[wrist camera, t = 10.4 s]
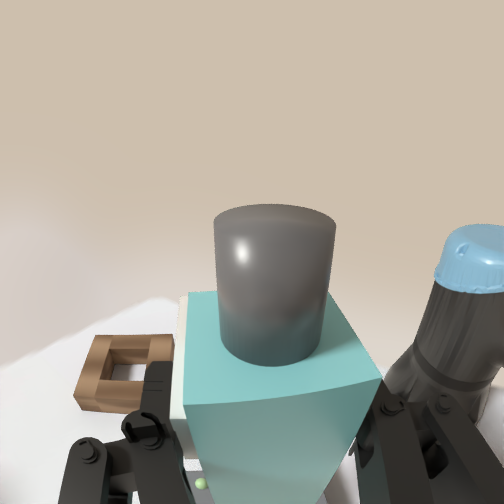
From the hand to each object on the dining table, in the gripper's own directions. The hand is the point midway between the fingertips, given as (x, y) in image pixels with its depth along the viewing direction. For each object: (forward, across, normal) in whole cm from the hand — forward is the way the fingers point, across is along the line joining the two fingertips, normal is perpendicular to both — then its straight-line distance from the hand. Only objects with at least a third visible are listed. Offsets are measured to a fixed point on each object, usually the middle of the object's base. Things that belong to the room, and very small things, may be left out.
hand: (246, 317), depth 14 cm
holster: (+16, -14, -22) cm, 30 cm away
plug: (-5, 0, -10) cm, 11 cm away
